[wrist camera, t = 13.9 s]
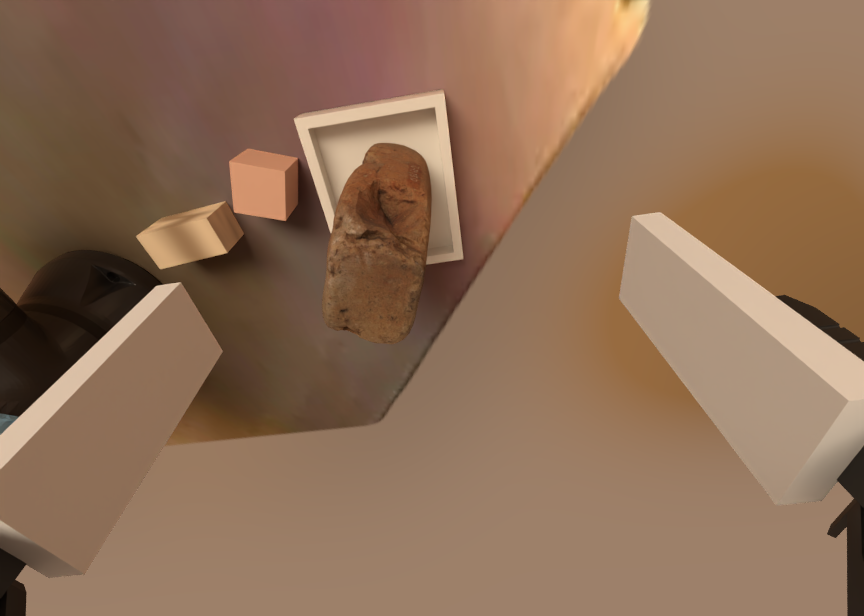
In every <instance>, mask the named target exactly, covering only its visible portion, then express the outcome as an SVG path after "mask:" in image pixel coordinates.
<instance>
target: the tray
mask: <svg viewBox="0 0 864 616" xmlns="http://www.w3.org/2000/svg"><path fill="white" fill-rule="evenodd" d="M294 121H295V124H296V128H297V131H298V134H299V137H300V140H301V143H302V146H303V149H304V152H305V155H306V158H307V162H308V165H309V168H310V171H311V174H312V177H313V180H314V183H315V186H316V189H317V192H318V196H319V199H320V202H321V205H322V208H323V211H324V214H325V217H326V220H327V223H328V226H329V230H330V233H332V229H333V221H334V216H335V212H336V208H337V204H338V201H339V198H340V195H341V193H342V191H343V188H344V186H345V184H346V182H347V180H348V178H349V177H350V175H351V174H352V173H353V171H354V170H355V169H356V168H358V167H359V166H360V165H362V162H363V160H364V157H365V154H366V152H367V151H368V149H369V148H370V147H371V146H372V145H374V144H377V143H395V144H400V145H404V146H407V147H409V148H411V149H413V150H415V151H417V152H418V153H419V154H420V155H422V157H423V158H424V159H425V161H426V163H427V166H428V169H429V174H430V182H431V193H432V203H431V225H430V234H429V244H428V251H427V261H426V265H427V264H434V263H441V262H447V261H454V260H461V259H463V250H462V241H461V233H460V224H459V216H458V207H457V198H456V190H455V181H454V173H453V164H452V155H451V147H450V138H449V129H448V121H447V112H446V104H445V95H444V91H443V89H440V90H435V91H429V92H423V93H417V94H412V95H406V96H400V97H395V98H389V99H383V100H377V101H372V102H366V103H360V104H354V105H349V106H343V107H337V108H331V109H326V110H320V111H314V112H308V113H303V114H300V115H299V116H298V117H296V118H295V119H294Z"/></svg>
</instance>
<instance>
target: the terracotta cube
mask: <svg viewBox="0 0 864 616" xmlns="http://www.w3.org/2000/svg"><path fill="white" fill-rule="evenodd" d="M229 164H230V175H231V186H232V196H233V207H234V212H235V213H241V214H247V215H253V216H259V217H265V218H271V219H277V220H283V221H286V220H287V218H288V217H289V216H290V214H291V213H292V211H293V210H294V209H295V207H296V206H297V204H298V158H295V157H289V156H284V155H279V154H274V153H268V152H263V151H258V150H252V149H247V150H245V151H244V152H242V153H241V154H239V155H238V156H236V157H235V158H233V159H232V160H230V161H229Z"/></svg>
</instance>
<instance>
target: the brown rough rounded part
mask: <svg viewBox="0 0 864 616" xmlns="http://www.w3.org/2000/svg"><path fill="white" fill-rule="evenodd" d="M431 203H432V193H431V182H430V174H429V169H428V166H427V163H426V161H425V159H424V158H423V157H422V155H420V154H419V153H418V152H417V151H415V150H413V149H411V148H409V147H407V146H404V145H400V144H395V143H377V144H374V145H372V146H371V147H370V148H369V149H368V151H367V152H366V154H365V157H364V160H363V162H362V165H360V166H359V167H358V168H356V169H355V170H354V171H353V173H352V174H351V175H350V177H349V178H348V180H347V182H346V184H345V186H344V188H343V191H342V193H341V195H340V198H339V201H338V204H337V208H336V212H335V216H334V221H333V229H332V233H331V236H330V240H329V245H328V251H327V270H326V280H325V285H324V291H323V299H322V312H323V318H324V321H325V323H326V324H327V326H328V327H330V328H332V329H334V330H337V331H339V330H347V331H350V332H352V333H355V334H357V335H359V337H360V338H363V339H365V340H368V341H371V342H374V343H387V344H394V343H397V342H399V341H401V340H403V339H404V338H405V337H406V336H407V335H408V334H409V333H410V330H411V328H412V326H413V323H414V320H415V316H416V311H417V306H418V302H419V298H420V294H421V290H422V286H423V280H424V275H425V270H426V261H427V251H428V244H429V234H430V225H431Z"/></svg>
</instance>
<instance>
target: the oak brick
mask: <svg viewBox="0 0 864 616" xmlns="http://www.w3.org/2000/svg"><path fill="white" fill-rule="evenodd" d="M243 235H244V232H243V231H242V229H241V227H240V225H239V224H238V222H237V220H236V218H235V216H234V215H233V213H232V211H231V209H230V208H229V206H228V204H227V202H226V201H225V202H221V203H217V204H213V205H210V206H206V207H202V208H198V209H194V210H190V211H187V212H183V213H179V214H175V215H171V216H167V217H164V218H161V219H159V220H158V221H157V222H155V223H154V224H152V225H151V226H150V227H148V228H147V229H145V230H144V231H143V232H141V233H140V234H138V235H137V236H136V237H137V239H138V240H139V241H140V243H141V244H142V245H143V247H144V248H145V250H146V251H147V252H148V254H149V255H150V256H151V258H152V259H153V260H154V262H155V263H156V264H157V266H158V267H159V268H160V269H164V268H168V267H172V266H176V265H180V264H184V263H188V262H192V261H196V260H201V259H205V258H209V257H213V256H217V255H221V254H225V253H228V252H229V251H230V249H231V248H232V247H233V246H234V245H235V244H236V243H237V241H238V240H239V239H240V238H241V237H242V236H243Z"/></svg>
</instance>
